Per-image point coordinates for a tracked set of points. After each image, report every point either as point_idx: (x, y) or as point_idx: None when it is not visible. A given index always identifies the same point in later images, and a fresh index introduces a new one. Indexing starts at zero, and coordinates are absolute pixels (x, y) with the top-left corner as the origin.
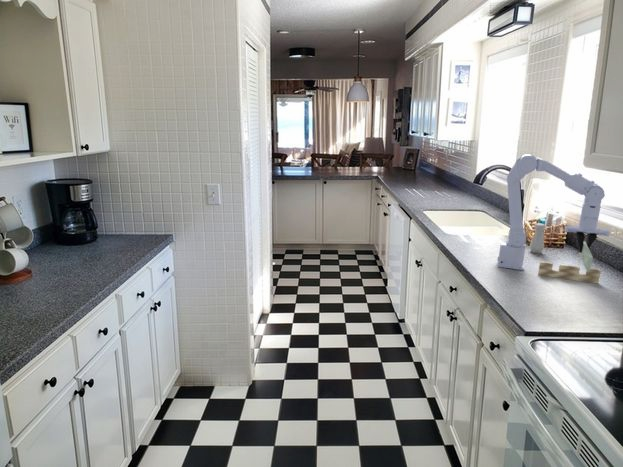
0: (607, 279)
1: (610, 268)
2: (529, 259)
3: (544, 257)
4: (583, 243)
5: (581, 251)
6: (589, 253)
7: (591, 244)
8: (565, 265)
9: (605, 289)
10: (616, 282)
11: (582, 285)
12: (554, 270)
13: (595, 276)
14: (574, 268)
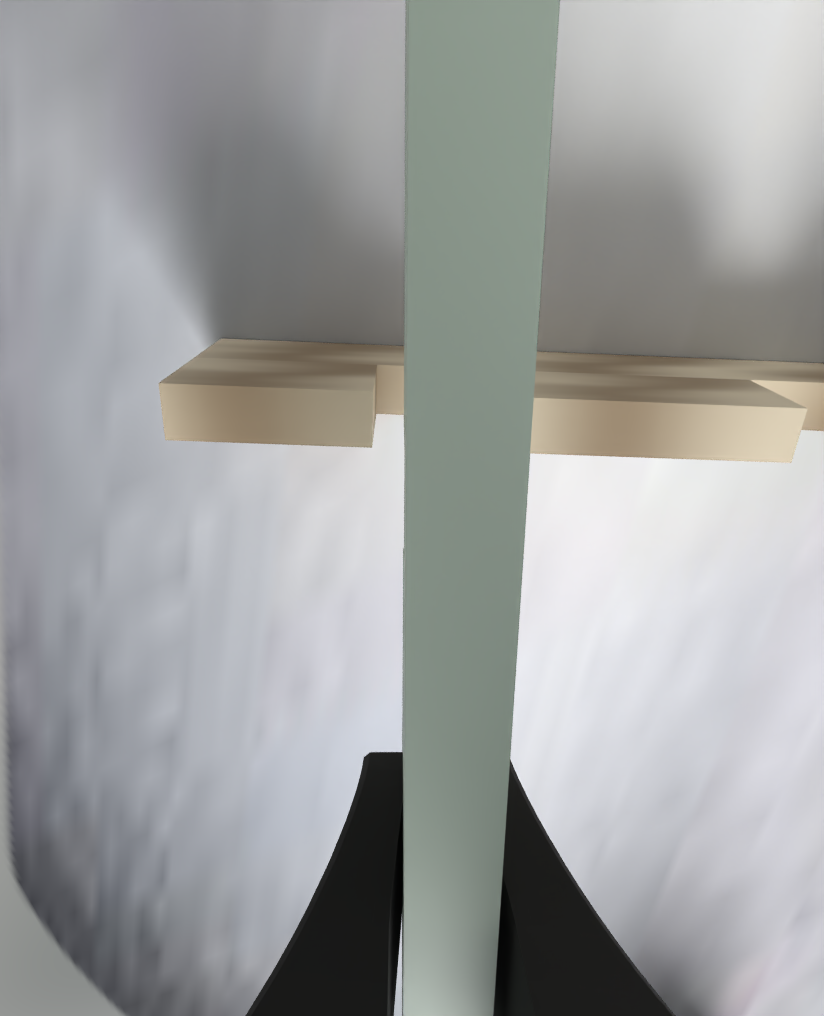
0: (104, 567)
1: (70, 911)
2: (799, 872)
3: None
4: (477, 991)
5: None
6: (472, 132)
7: (285, 951)
8: (715, 424)
9: (143, 81)
10: (8, 498)
11: None
12: (805, 395)
13: (249, 359)
14: (568, 391)
